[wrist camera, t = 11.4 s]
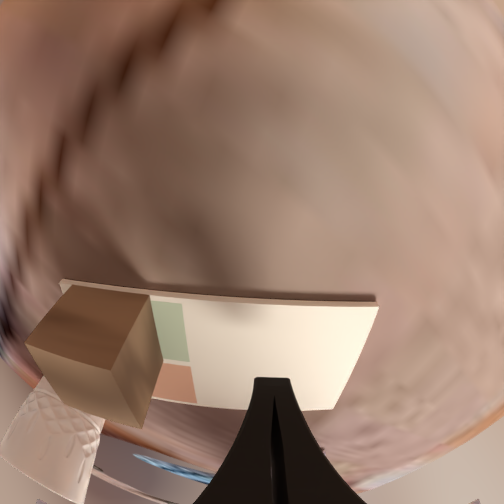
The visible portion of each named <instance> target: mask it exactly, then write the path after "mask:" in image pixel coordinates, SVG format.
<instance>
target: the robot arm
mask: <svg viewBox="0 0 504 504" xmlns="http://www.w3.org/2000/svg"><path fill="white" fill-rule="evenodd" d="M36 504H47V503H46V502H44V501H42V500H40V499H37V502H36ZM193 504H367V503H365V502H364V501H363V500H362V499H361V498H360V497H359V496H358V495H357V494H356V493H355V492H354V491H353V490H352V489H351V488H350V487H349V485H348V484H347V483H346V482H345V481H344V480H343V478H342V477H341V476H340V475H339V474H338V473H337V471H336V470H335V469H334V467H333V466H332V465H331V463H330V462H329V460H328V459H327V457H326V456H325V452H324V451H322V450H321V448H320V447H319V445H318V443H317V442H316V440H315V438H314V436H313V434H312V433H311V431H310V429H309V427H308V425H307V423H306V421H305V418H304V416H303V414H302V412H301V410H300V407H299V405H298V402H297V400H296V397H295V394H294V391H293V388H292V385H291V381H290V379H289V378H278V377H256V378H254V384H253V392H252V396H251V400H250V404H249V407H248V410H247V413H246V416H245V418H244V421H243V424H242V426H241V428H240V431H239V433H238V435H237V437H236V439H235V441H234V443H233V445H232V447H231V449H230V451H229V453H228V455H227V457H226V458H225V460H224V462H223V463H222V465H221V467H220V468H219V470H218V471H217V473H216V474H215V476H214V477H213V479H212V480H211V482H210V483H209V484H208V486H207V487H206V488H205V490H204V491H203V492H202V493H201V495H200V496H199V497H198V499H197V500H196V501H195V502H194V503H193ZM469 504H480V501H479V499H477V500H475V501H473V502H471V503H469Z"/></svg>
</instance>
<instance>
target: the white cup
mask: <svg viewBox="0 0 504 504" xmlns="http://www.w3.org/2000/svg"><path fill="white" fill-rule="evenodd" d="M104 422H105V419H103V418H100V417H97V416H94V415H91V414H88V413H85V412H83V411H80V410H77V409H75V408H72V407H70V406H67V405H65V404H64V403H63V402H62V401H61V399H60V398H59V396H58V395H57V394H56V392H55V391H54V390H53V388H52V387H51V385H50V384H49V382H48V381H47V379H46V378H45V376H44V375H43V377H42V378H41V380H40V381H39V383H38V385H37V386H36V388H35V389H34V390H33V392H32V393H30V394H29V396H28V398H27V399H26V400H25V402H24V403H23V404H22V406H21V407H20V409H19V410H18V412H17V414H16V415H15V417H14V419H13V421H12V422H11V424H10V426H9V428H8V429H7V431H6V433H5V435H4V437H3V439H2V440H1V442H0V457H1V458H2V459H4V460H5V461H6V462H8V463H9V464H10V465H12V466H13V467H14V468H16V469H17V470H19V471H20V472H22V473H23V474H25V475H26V476H28V477H29V478H31V479H32V480H34V481H36V482H37V483H39V484H40V485H42V486H44V487H46V488H47V489H49V490H51V491H53V492H54V493H56V494H58V495H60V496H62V497H64V498H66V499H68V500H70V501H72V502H74V503H76V504H84V501H85V496H86V492H87V488H88V484H89V479H90V476H91V472H92V468H93V464H94V460H95V456H96V450H97V448H98V444H99V440H100V433H101V431H102V428H103V425H104Z"/></svg>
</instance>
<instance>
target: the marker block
mask: <svg viewBox="0 0 504 504" xmlns="http://www.w3.org/2000/svg"><path fill="white" fill-rule="evenodd" d="M24 343H25V345H26V347H27V349H28V350H29V352H30V354H31V356H32V357H33V359H34V361H35V362H36V364H37V366H38V367H39V369H40V370H41V372H42V373H43V375H44V376H45V378H46V379H47V381H48V382H49V384H50V385H51V387H52V388H53V390H54V391H55V392H56V394H57V395H58V396H59V398H60V399H61V401H62V402H63V403H64V404H65V405H67V406H70V407H72V408H75V409H77V410H80V411H83V412H85V413H88V414H91V415H94V416H97V417H100V418H103V419H106V420H110V421H113V422H116V423H120V424H123V425H127V426H131V427H135V428H139V429H142V427H143V424H144V420H145V417H146V414H147V410H148V407H149V404H150V401H151V398H152V394H153V391H154V388H155V385H156V382H157V379H158V376H159V373H160V370H161V367H162V364H163V361H164V360H163V356H162V352H161V348H160V344H159V339H158V335H157V330H156V325H155V321H154V316H153V311H152V305H151V300H150V295H146V294H138V293H130V292H122V291H114V290H107V289H100V288H93V287H86V286H79V285H73V284H72V285H71V286H70V288H69V289H68V290H67V291H66V292H65V293H64V294H63V295H62V297H61V298H60V299H59V300H58V301H57V302H56V304H55V305H54V306H53V307H52V308H51V309H50V311H49V312H48V313H47V314H46V316H45V317H44V318H43V319H42V320H41V322H40V323H39V324H38V325H37V327H36V328H35V329H34V331H33V332H32V333H31V334H30V336H29V337H28V338H27V340H26V341H25V342H24Z"/></svg>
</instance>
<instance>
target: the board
mask: <svg viewBox="0 0 504 504" xmlns="http://www.w3.org/2000/svg"><path fill="white" fill-rule="evenodd" d="M59 284H60V287H61V290H62V293H63V294H64V293H65V292H66V291H67V290H68V289H69V288H70V286H71V285H72V284H73V285H79V286H86V287H93V288H100V289H107V290H114V291H122V292H130V293H138V294H146V295H150V300H151V305H152V311H153V316H154V321H155V325H156V330H157V335H158V339H159V344H160V348H161V352H162V356H163V360H164V361H163V364H162V367H161V370H160V373H159V376H158V379H157V382H156V385H155V388H154V391H153V394H152V398H153V399H158V400H164V401H170V402H176V403H182V404H189V405H197V406H205V407H214V408H225V409H239V410H248V407H249V404H250V400H251V396H252V392H253V384H254V378H256V377H278V378H289V379H290V381H291V385H292V388H293V391H294V394H295V397H296V400H297V402H298V405H299V407H300V410H301V411H307V410H326V409H333V408H334V406H335V404H336V402H337V400H338V398H339V397H340V395H341V393H342V391H343V389H344V387H345V385H346V383H347V381H348V379H349V377H350V375H351V373H352V370H353V368H354V366H355V364H356V362H357V360H358V357H359V355H360V353H361V351H362V348H363V346H364V344H365V341H366V339H367V337H368V334H369V332H370V329H371V327H372V324H373V322H374V319H375V317H376V314H377V311H378V309H379V305H378V304H377V302H348V301H305V300H280V299H259V298H242V297H227V296H213V295H200V294H188V293H177V292H166V291H156V290H147V289H137V288H129V287H120V286H112V285H104V284H96V283H89V282H82V281H75V280H68V279H62V280H61V281H60V282H59Z"/></svg>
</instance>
